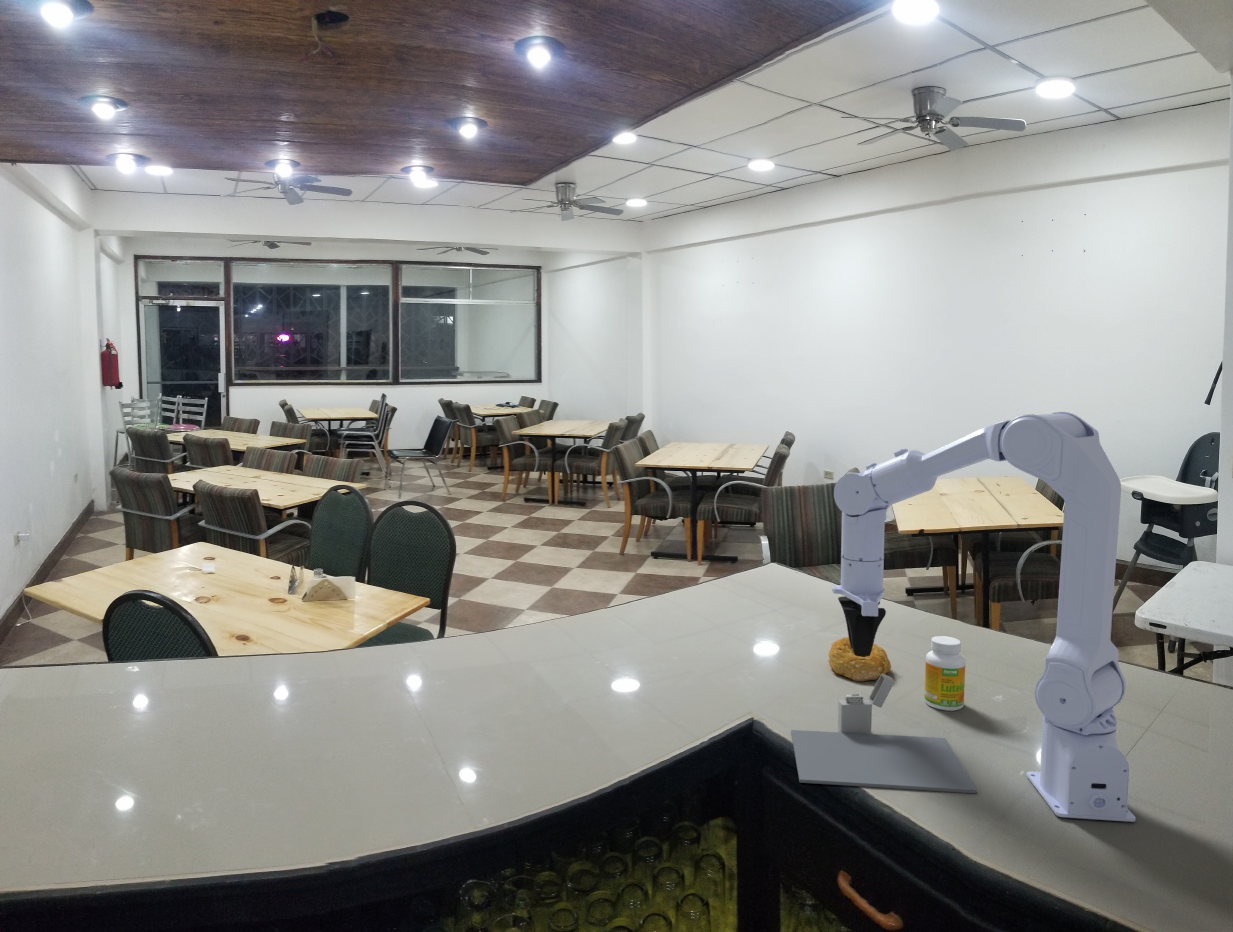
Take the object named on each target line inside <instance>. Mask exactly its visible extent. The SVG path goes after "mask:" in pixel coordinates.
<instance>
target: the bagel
mask: <svg viewBox="0 0 1233 932" xmlns="http://www.w3.org/2000/svg"><path fill="white" fill-rule="evenodd" d="M828 658H829V659H828V663H829V666H830V668H831V669H832V670H833V673H835V674H837V675H840V676H843V677H845V678H848V679H850V680H852V681H854V682H858V683H859V682H865V681H866V682H867V681H875V680H878V679H879V677H880V675H881V674H882V673H883V674H885V675H887V674H889V673H890V671H891V669H892V665H891V664H892V663H891V661H890V660H889V657H888V654H887V652H886V651H885V650H884V648H883V647H880V646H879V645H878V644H875V643H873V647H872V651H871V654H870V656H856V655H855V654H854V651H853V648H851V645H850V641H849V636H847V637H842V638H840V639H837V640H836V641H833V642H832V643H831V647H830V649H829V651H828Z"/></svg>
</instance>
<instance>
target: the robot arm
mask: <svg viewBox="0 0 1233 932" xmlns="http://www.w3.org/2000/svg"><path fill="white" fill-rule="evenodd" d="M893 454H894V457H892V458H890V459H888V460H885V461H882V462H880V463H878V464H877V463H876V462H872V463H869V464H867V465H866V466H865V470H864V472H863V471H862V472H847V473H845V474H844V476H842V477H840V478H839V479H838V480H837V482H836V483H835V485H834V489H833V499H834V503H835V504H836V506H837V508H838V509H839V510H840V511H841V544H840V545H841V548H840V551H841V552H840V585H832V586H831V592H832V593H833V594H837V595H841V596H838V597H837V600H838V601H839V604H840V606H841V608H842V612H843V615H844V618H845V623H846V629H847V635H848V636H847V637H849V641H850V645H851V648H853V651H854V654H855V655H856V656H870V654H871V651H872V647H873V644H875V643H874V642H875V638H876V635H877V632H878V629H879V627H880V624H881V623H882V621H883V620H884V618H885V617H886V614H887V610H886V609H885V608H884V607H879V606H880V604H881V601H882V599H883V597H884V596H885V588H884V565H885V564H884V563H885V562H884V560H885V524H886V523H885V522H886V520H887V512H888V509H889V508H890V507H891V506H892V505H895V504H897V503H900V502H903V501H904V500H905V501H906V500H908V499H911V498H914V497H917V496H919V495H921V494H924V493H926V492H930V491H931V490H933V488H934V486H935V485H936V481H937V479H938V477H941V476H943V475H946V474H949V473H952V472H954V471H958V470H960V469H963V468H966V467H969V466H972V465H974V464H978V463H981V462H984V461H986V460H992V461H995V462H1004V461H1006V462H1008V463H1009V464H1010V465H1011V466H1013V467H1014V468H1015V469H1018V470H1020V471H1022V472H1024V473H1026V474H1028V475H1030V476H1033V477H1034V478H1037V479H1039V480H1041V481H1043V482H1044V483H1046V484H1047V486H1049V487H1050V488H1051V489H1052V490H1053V491H1054V492H1055V493H1057V494H1058V495H1059V497H1061V498H1062V499H1063V500H1064V509H1063V522H1062V523H1063V524H1062V525H1063V526H1062V537H1061V538H1062V539H1061V540H1062V541H1061V553H1060V555H1061V556H1060V570H1059V571H1060V572H1059V573H1060V574H1059V583H1058V584H1059V586H1058V587H1059V588H1058V603H1057V618H1056V619H1057V621H1056V635H1055V637H1054V640H1053V642H1052V645H1051V646H1050V648H1049V651H1048V653H1047V654H1046V657H1045V665H1044V669H1043V670H1044V671H1043V673H1042V674H1041V676H1040V677H1039V678H1038V680H1037V682H1036V683H1035V686H1034V699H1035V702H1036V705H1037V708H1038V709H1039V710H1040V712H1041V713H1042V725H1041V726H1042V727H1041V746H1040V747H1041V748H1040V750H1041V751H1040V766H1039V767H1040V768H1039V769H1040V771H1026V774H1025V775H1026V777H1027V778H1028V779H1029V781H1030V783H1031V784H1032V785H1033V786H1034V788H1035V789H1036V790H1037V792H1038V793H1039V795H1040V796H1041V797H1042V799H1044V801H1045V802H1046V803H1047V805H1048V806H1049V807H1050V809H1051V810H1052V812H1053V813H1054V815H1056V816H1057V817H1060V818H1067V819H1069V818H1070V819H1083V820H1100V821H1117V822H1130V823H1131V822H1136V816H1135V815H1134V814H1133V813H1132V812H1131V810H1130V809H1129V808H1128V796H1129V780H1130V779H1129V777H1130V766H1129V762H1128V760H1127V757H1126V756H1125V754H1124V753H1123V751H1122V750H1121V749H1120V747H1119V744H1118V741H1117V723H1118V721H1117V718H1116V714H1115V712H1114V707H1115V706H1116V705H1118V704H1120V703H1121V702H1122V700H1123V699H1124V697H1125V695H1126V692H1127V691H1126V689H1127V683H1126V679H1125V677H1124V674H1123V673H1122V671H1121V667H1120V664H1119V657H1120V656H1119V655H1120V651H1119V649H1118V648H1117V647H1116V646H1115V644H1114V643H1113V641H1112V640H1111V636H1112V635H1111V633H1112V623H1113V622H1112V620H1113V608H1114V592H1115V583H1116V582H1115V579H1116V578H1115V577H1116V568H1117V567H1116V566H1117V565H1116V564H1117V554H1118V553H1117V552H1118V540H1119V539H1118V538H1119V526H1120V525H1119V524H1120V511H1121V497H1122V496H1121V495H1122V484H1121V480H1120V477H1119V475H1118V474H1117V472H1116V470H1115V468H1114V466H1113V465H1112V463H1111V461H1110V459H1109V457H1108V456H1107V454H1106V452H1105V450H1104V449H1103V447H1102V444H1101V442H1100V433H1099V430H1097V429H1096V428H1094V427H1093V426H1092V425H1091V424H1089V423H1088V422H1086V420H1084V419H1082V418H1081V417H1080V416H1078V415H1076V414H1074V413H1071V412H1067V411H1057V412H1052V413H1046V414H1034V413H1028V414H1022V415H1018V416H1016V417H1015V418H1013V419H1010V420H1003V421H998V422H995V423H993V424H990V425H986V426H985V427H982V428H980V429H978V430H975V431H973V432H972V433H969V434H967V435H964V436H962V437H960V438H958V439H957V440H955V441H952V442H949V443H947V444H946V445H944V446H942V447H939V448H937V449H935V450H932V451H931V452H928V453H924V452H923V451H920V450H917V449H911V450H908V448H903V449H902V448H901V449H899V450H896V451H894V452H893Z"/></svg>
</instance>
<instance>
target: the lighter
mask: <svg viewBox="0 0 1233 932" xmlns="http://www.w3.org/2000/svg"><path fill="white" fill-rule="evenodd" d="M894 685H895V679H894V678H892V677H891V676H889V675H887V674H886V675H885V674H883V673H882V674H881V675H880V677H879V676H878V678H877V681H876V683H875V685H874V687H873V689H872V690H871V692H870V694H869V696H868V699H867V698H865V699H864V695H863V694H862V693H848V694H847V695H846V696H845V697H844V699H838V705H837V708H838V709H837V710H838V712H837V732H841V733H860V734H872V724H873V723H872V720H873V719H872V717H873V715H872V714H873V706H876V707H878V708H880V709H881V708H882V707H883V706H884V703H885V702H886V700H887V698H888V696H889V693H890V691H891V690H892V687H893V686H894Z"/></svg>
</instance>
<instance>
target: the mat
mask: <svg viewBox="0 0 1233 932" xmlns="http://www.w3.org/2000/svg"><path fill="white" fill-rule="evenodd" d="M790 734H791V738H792V739H791V740H792V746H793V751H794V757H795V763H796V770H797V774H798V781H799V783H802V784H803V783H805V784H817V785H818V784H819V785H820V784H821V785H831V786H832V785H836V786H848V787H849V786H850V787H851V786H853V787H865V788H866V787H867V788H868V787H869V788H880V789H881V788H883V789H899V790H900V789H901V790H915V791H934V792H945V793H946V792H949V793H950V792H951V793H964V794H966V793H968V794H977V792H978V791H977V788H976V787H975V785H974V783H973V782H972V779H971V778H970V776H969V775H968V773H967V772H966V770H965V769H964V767H963V765H962V764H961V761H960V760H959V758H958V757H957V755H956V753H955V752H954V749H952V747H951V745H950V744H949V742H948V740H947V738H946V737H935V736H917V735H916V736H914V735H896V734H895V735H894V734H875V733H871V734H860V733H841V732H839V731H837V732H836V731H818V730H801V729H800V730H799V729H798V730H797V729H791V731H790Z"/></svg>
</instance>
